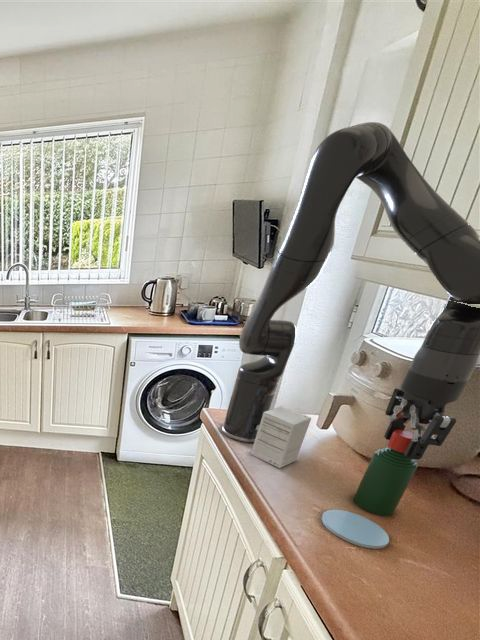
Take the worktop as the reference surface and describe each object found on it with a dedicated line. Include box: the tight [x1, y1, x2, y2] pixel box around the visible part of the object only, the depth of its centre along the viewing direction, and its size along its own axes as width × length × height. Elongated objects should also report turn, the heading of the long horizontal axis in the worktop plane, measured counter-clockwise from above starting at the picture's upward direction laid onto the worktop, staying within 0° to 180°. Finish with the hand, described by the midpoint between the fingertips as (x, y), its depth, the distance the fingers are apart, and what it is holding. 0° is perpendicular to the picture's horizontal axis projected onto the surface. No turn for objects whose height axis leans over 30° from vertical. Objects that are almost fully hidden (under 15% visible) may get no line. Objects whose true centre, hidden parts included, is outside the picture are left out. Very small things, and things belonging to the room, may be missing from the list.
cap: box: [387, 429, 413, 453], centre depth 80 cm, size 4×4×3 cm
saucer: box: [321, 509, 390, 550], centre depth 80 cm, size 10×10×1 cm
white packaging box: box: [250, 405, 312, 469], centre depth 101 cm, size 7×7×13 cm
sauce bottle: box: [352, 446, 419, 517], centre depth 84 cm, size 6×6×17 cm
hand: (400, 448), depth 81 cm, fingers open, 6 cm apart
